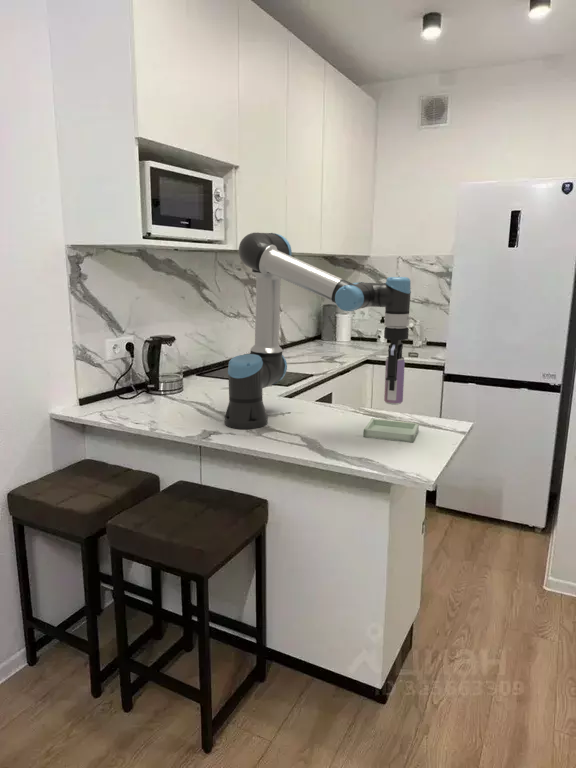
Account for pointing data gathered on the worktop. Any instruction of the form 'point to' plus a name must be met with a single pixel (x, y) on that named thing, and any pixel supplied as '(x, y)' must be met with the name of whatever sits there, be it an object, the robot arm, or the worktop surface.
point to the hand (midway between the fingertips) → (393, 397)
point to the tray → (391, 430)
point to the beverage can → (399, 382)
